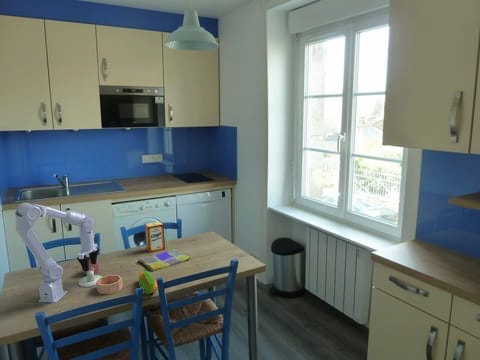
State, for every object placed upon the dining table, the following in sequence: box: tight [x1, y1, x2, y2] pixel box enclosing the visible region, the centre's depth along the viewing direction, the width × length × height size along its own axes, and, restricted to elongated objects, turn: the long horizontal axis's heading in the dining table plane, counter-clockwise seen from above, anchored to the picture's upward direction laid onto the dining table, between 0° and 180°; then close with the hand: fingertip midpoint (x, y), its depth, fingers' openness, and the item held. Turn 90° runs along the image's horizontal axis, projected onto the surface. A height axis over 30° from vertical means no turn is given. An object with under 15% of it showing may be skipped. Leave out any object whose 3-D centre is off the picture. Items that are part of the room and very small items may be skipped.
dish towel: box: [137, 248, 191, 272], centre depth 197 cm, size 18×24×3 cm
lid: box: [78, 270, 102, 287], centre depth 173 cm, size 11×11×5 cm
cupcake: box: [81, 260, 100, 276], centre depth 181 cm, size 9×8×12 cm
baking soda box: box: [144, 221, 166, 254], centre depth 213 cm, size 10×6×16 cm
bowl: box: [96, 274, 124, 295], centre depth 166 cm, size 11×11×4 cm
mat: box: [72, 275, 105, 289], centre depth 173 cm, size 12×12×1 cm
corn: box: [136, 270, 158, 295], centre depth 166 cm, size 7×8×20 cm
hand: (89, 267), depth 172 cm, fingers open, 7 cm apart
